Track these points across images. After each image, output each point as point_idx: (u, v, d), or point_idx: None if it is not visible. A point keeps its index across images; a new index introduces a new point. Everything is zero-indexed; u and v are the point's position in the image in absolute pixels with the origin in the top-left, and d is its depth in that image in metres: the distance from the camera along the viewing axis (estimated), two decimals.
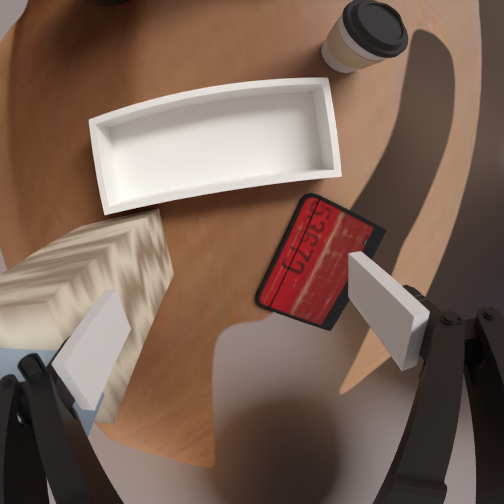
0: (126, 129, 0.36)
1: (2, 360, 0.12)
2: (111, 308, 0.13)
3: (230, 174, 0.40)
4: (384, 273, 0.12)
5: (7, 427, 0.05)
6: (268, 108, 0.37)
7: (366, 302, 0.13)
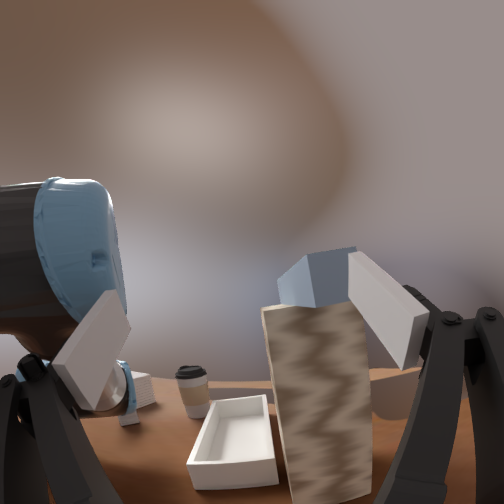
0: None
1: (284, 293, 0.39)
2: (111, 308, 0.13)
3: (263, 436, 0.51)
4: (384, 273, 0.12)
5: (7, 427, 0.05)
6: (225, 428, 0.57)
7: (366, 302, 0.13)
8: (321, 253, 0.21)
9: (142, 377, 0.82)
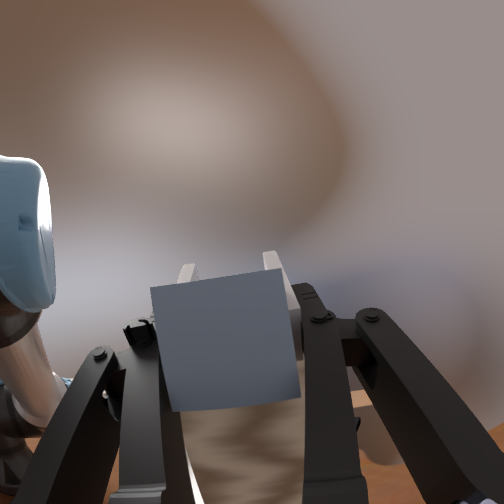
0: None
1: None
2: (194, 280, 0.15)
3: None
4: None
5: (85, 408, 0.06)
6: (188, 460, 0.45)
7: None
8: (186, 286, 0.08)
9: None
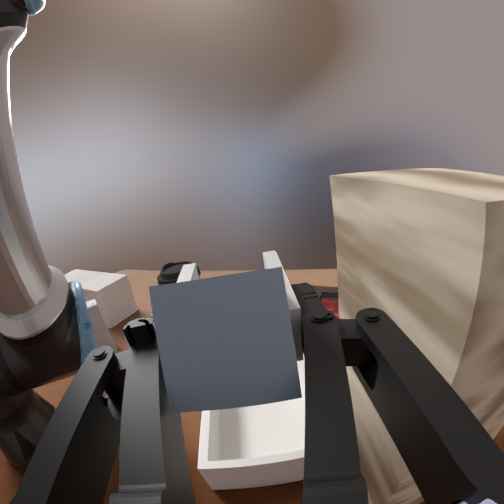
0: None
1: None
2: None
3: None
4: None
5: (85, 408, 0.06)
6: None
7: None
8: (185, 285, 0.08)
9: (118, 281, 0.66)
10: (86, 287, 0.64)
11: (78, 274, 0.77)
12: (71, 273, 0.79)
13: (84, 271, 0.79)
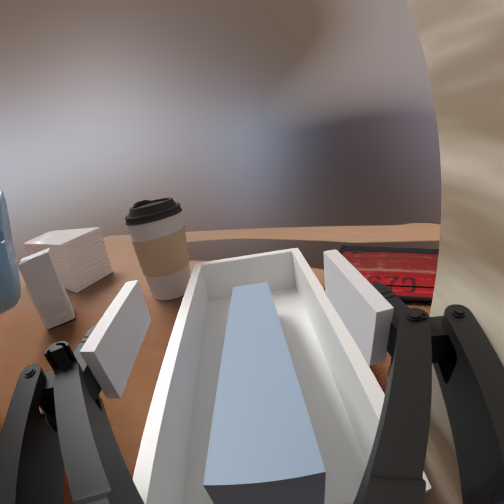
0: (201, 503, 0.12)
1: None
2: (134, 299, 0.14)
3: (313, 350, 0.26)
4: (355, 270, 0.12)
5: (27, 419, 0.05)
6: (222, 325, 0.32)
7: (339, 299, 0.14)
8: (238, 485, 0.07)
9: (88, 234, 0.51)
10: (52, 242, 0.49)
11: (50, 234, 0.62)
12: (44, 234, 0.64)
13: (58, 231, 0.64)
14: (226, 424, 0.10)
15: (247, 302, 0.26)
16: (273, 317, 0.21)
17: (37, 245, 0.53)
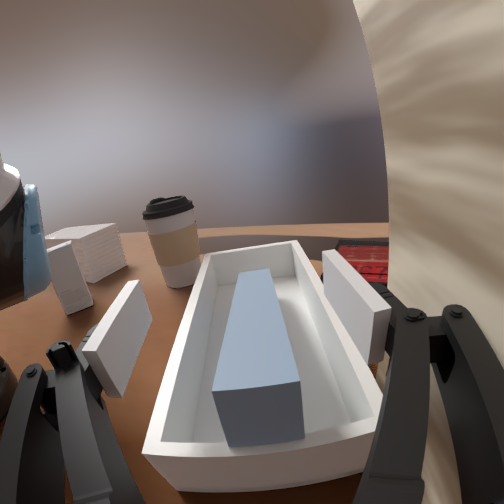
0: None
1: None
2: (135, 298, 0.14)
3: (307, 325, 0.30)
4: (353, 270, 0.13)
5: (28, 419, 0.05)
6: (229, 307, 0.37)
7: (337, 299, 0.14)
8: (236, 391, 0.11)
9: (105, 229, 0.57)
10: (70, 237, 0.55)
11: (66, 230, 0.68)
12: (60, 231, 0.71)
13: (73, 227, 0.70)
14: (230, 356, 0.15)
15: (251, 283, 0.31)
16: (271, 292, 0.26)
17: (54, 240, 0.59)
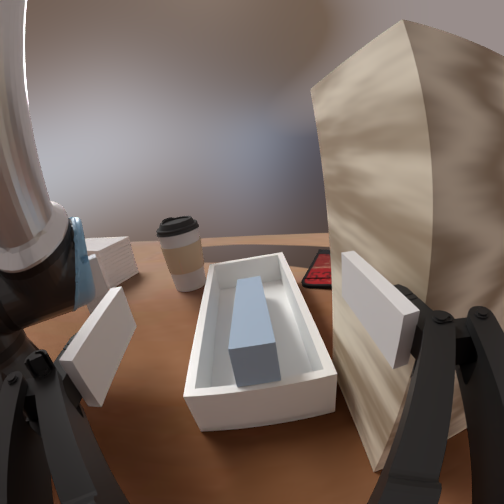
0: None
1: None
2: (117, 306, 0.13)
3: (289, 318, 0.41)
4: (376, 272, 0.12)
5: (12, 425, 0.05)
6: (230, 306, 0.48)
7: (358, 301, 0.13)
8: (241, 348, 0.23)
9: (119, 242, 0.67)
10: (88, 249, 0.65)
11: None
12: None
13: (86, 239, 0.80)
14: (236, 332, 0.26)
15: (246, 287, 0.42)
16: (261, 294, 0.37)
17: None
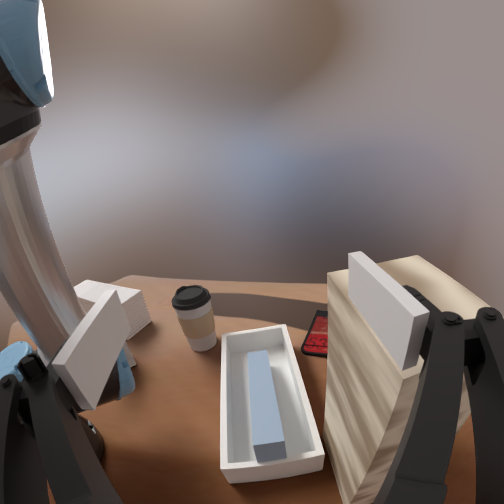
0: (241, 462, 0.34)
1: None
2: (110, 308, 0.13)
3: (290, 389, 0.48)
4: (384, 273, 0.12)
5: (7, 427, 0.05)
6: (241, 373, 0.54)
7: (366, 302, 0.13)
8: (261, 444, 0.29)
9: (133, 297, 0.73)
10: None
11: (91, 286, 0.83)
12: (83, 284, 0.85)
13: (96, 283, 0.85)
14: (256, 427, 0.32)
15: (257, 368, 0.48)
16: (270, 379, 0.43)
17: (85, 300, 0.74)
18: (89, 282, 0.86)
